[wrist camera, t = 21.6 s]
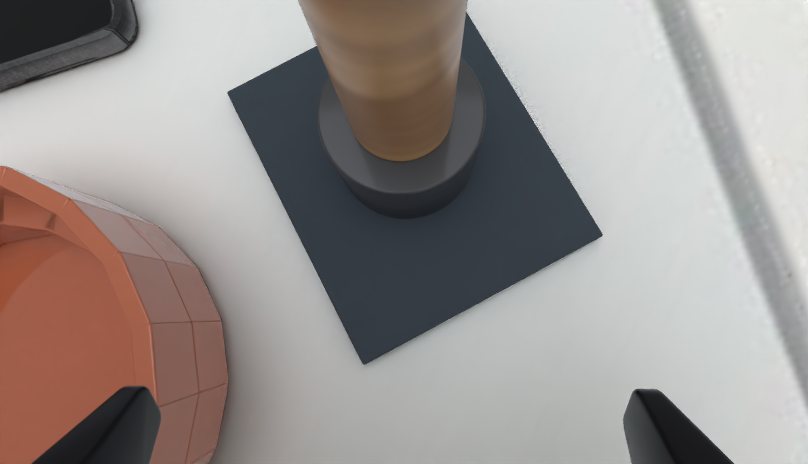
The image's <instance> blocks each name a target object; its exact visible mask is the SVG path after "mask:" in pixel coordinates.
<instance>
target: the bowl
mask: <svg viewBox="0 0 808 464" xmlns="http://www.w3.org/2000/svg"><path fill="white" fill-rule="evenodd" d="M124 386H146V387H148V388H149V390H150V391H151V393H152V395H153V397H154V399H155V401H156V403H157V405H158V407H159V409H160V411H161V424H160V428H159V431H158V435H157V438H156V442H155V445H154V449H153V452H152V456H151V460H150V463H149V464H208V463H209V461H210V459H211V457H212V456H213V454H214V452H215V450H216V446H217V443H218V437H219V432H220V427H221V421H222V416H223V411H224V405H225V400H226V395H227V389H228V372H227V363H226V354H225V346H224V337H223V328H222V322H221V317H220V315H219V313H218V311H217V309H216V307H215V304H214V302H213V300H212V298H211V296H210V293H209V291H208V289H207V287H206V285H205V282H204V280H203V278H202V276H201V274H200V272H199V269H198V268H197V267H196V265H195V264H194V263H193V262H192V261H191V260H190V259H189V258H188V257H187V256H186V255H185V254H184V253H183V252H182V251H181V249H180V248H179V247H178V246H177V245H176V244H175V243H174V242H173V241H172V240H171V239H170V238H169V237H168V236H167V235H166V234H165V233H164V232H163V231H162V230H161V229H160V228H159V227H158V226H157V225H155V224H153V223H151V222H149V221H147V220H145V219H143V218H141V217H139V216H137V215H135V214H133V213H131V212H129V211H127V210H125V209H123V208H121V207H119V206H117V205H115V204H113V203H111V202H108V201H105V200H102V199H99V198H96V197H94V196H91V195H88V194H85V193H82V192H79V191H76V190H73V189H71V188H68V187H65V186H62V185H59V184H56V183H53V182H50V181H48V180H45V179H42V178H39V177H36V176H33V175H30V174H27V173H25V172H22V171H19V170H16V169H13V168H10V167H7V166H0V464H31V463H32V462H34V461H35V460H36V459H37V458H38V457H40V456H41V455H42V454H43V453H44V452H45V451H47V450H48V449H49V448H50V447H51V446H53V445H54V444H55V443H56V442H57V441H58V440H60V439H61V438H62V437H63V436H64V435H66V434H67V433H68V432H69V431H70V430H71V429H73V428H74V427H75V426H76V425H77V424H79V423H80V422H81V421H82V420H83V419H85V418H86V417H87V416H88V415H89V414H90V413H92V412H93V411H94V410H95V409H96V408H98V407H99V406H100V405H101V404H102V403H103V402H105V401H106V400H107V399H108V398H109V397H111V396H112V395H113V394H114V393H115V392H116V391H118V390H119V389H120V388H122V387H124Z"/></svg>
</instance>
